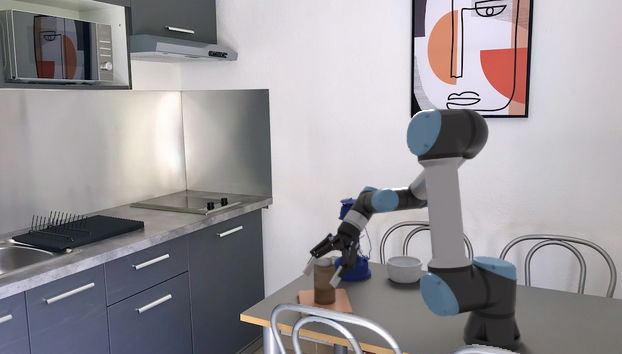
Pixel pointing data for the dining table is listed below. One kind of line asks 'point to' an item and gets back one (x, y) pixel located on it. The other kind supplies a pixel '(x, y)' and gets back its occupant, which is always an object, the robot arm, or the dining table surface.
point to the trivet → (340, 305)
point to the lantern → (361, 264)
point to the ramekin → (404, 268)
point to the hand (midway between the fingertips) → (318, 280)
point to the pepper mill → (324, 281)
